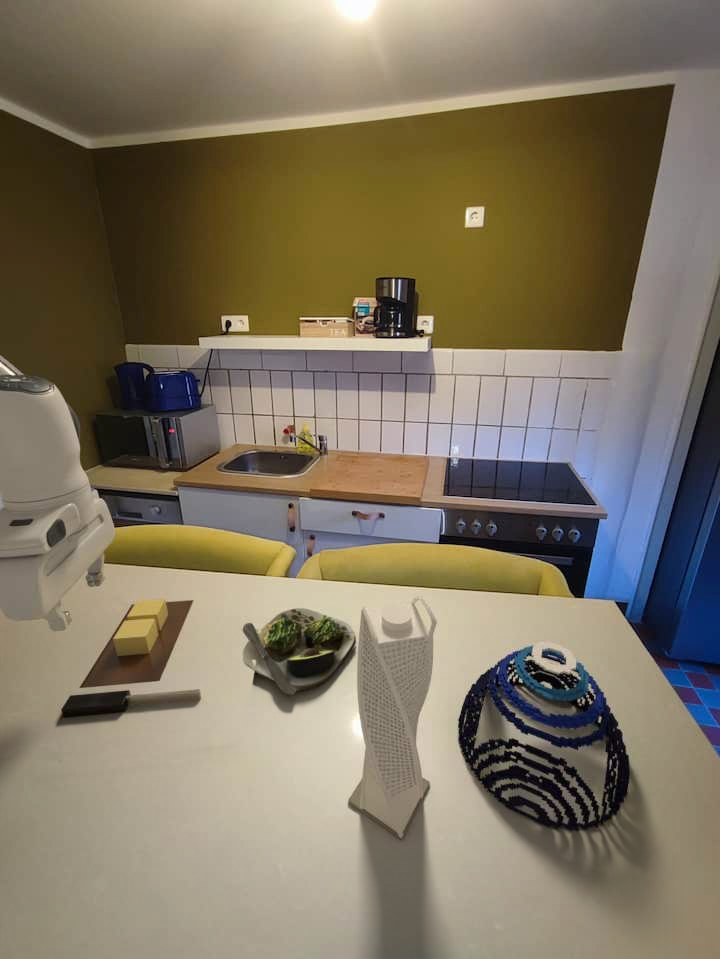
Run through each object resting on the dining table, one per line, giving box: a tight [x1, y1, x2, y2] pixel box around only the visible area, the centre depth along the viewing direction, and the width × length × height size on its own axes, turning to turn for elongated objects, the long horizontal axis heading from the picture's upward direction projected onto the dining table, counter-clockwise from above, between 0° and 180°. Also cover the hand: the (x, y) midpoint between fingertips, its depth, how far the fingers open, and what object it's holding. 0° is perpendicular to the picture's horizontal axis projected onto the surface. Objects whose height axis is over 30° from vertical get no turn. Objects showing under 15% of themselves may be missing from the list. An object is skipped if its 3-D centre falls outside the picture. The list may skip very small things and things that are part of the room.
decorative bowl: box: [457, 640, 631, 832], centre depth 53 cm, size 20×20×14 cm
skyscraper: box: [347, 594, 438, 841], centre depth 44 cm, size 8×8×28 cm
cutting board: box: [79, 599, 194, 689], centre depth 73 cm, size 16×20×2 cm
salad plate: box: [242, 607, 357, 696], centre depth 71 cm, size 19×18×5 cm
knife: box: [60, 688, 202, 719], centre depth 60 cm, size 18×2×3 cm, turn 96°
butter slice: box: [127, 598, 168, 631], centre depth 76 cm, size 5×4×4 cm
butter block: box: [113, 618, 158, 656], centre depth 71 cm, size 5×4×4 cm
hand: (80, 603), depth 58 cm, fingers open, 8 cm apart
